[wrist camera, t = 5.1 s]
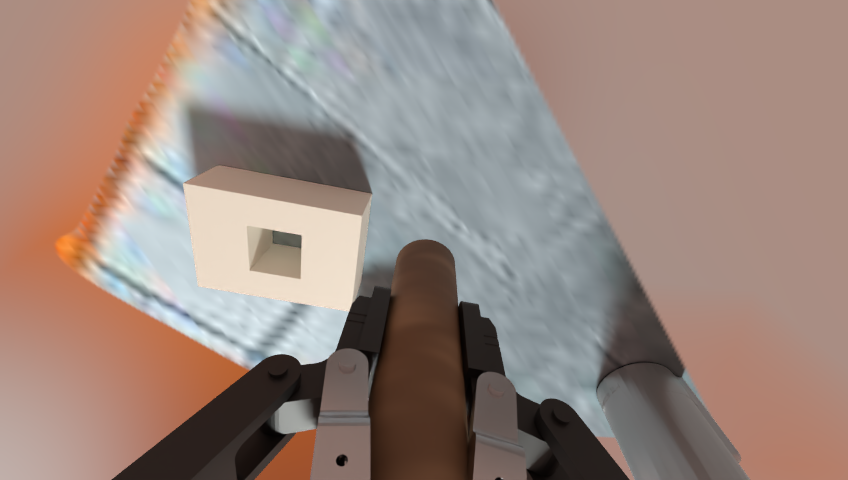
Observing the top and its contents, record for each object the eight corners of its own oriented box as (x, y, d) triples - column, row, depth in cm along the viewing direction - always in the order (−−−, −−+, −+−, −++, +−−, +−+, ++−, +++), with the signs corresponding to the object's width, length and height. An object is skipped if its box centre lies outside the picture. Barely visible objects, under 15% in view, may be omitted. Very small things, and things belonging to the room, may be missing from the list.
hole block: (372, 193, 33) (362, 215, 28) (361, 280, 37) (351, 311, 33) (218, 164, 32) (183, 183, 27) (227, 257, 36) (198, 286, 32)
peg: (461, 245, 17) (496, 546, 7) (447, 293, 19) (460, 605, 8) (401, 234, 17) (342, 525, 7) (392, 283, 19) (331, 588, 8)
